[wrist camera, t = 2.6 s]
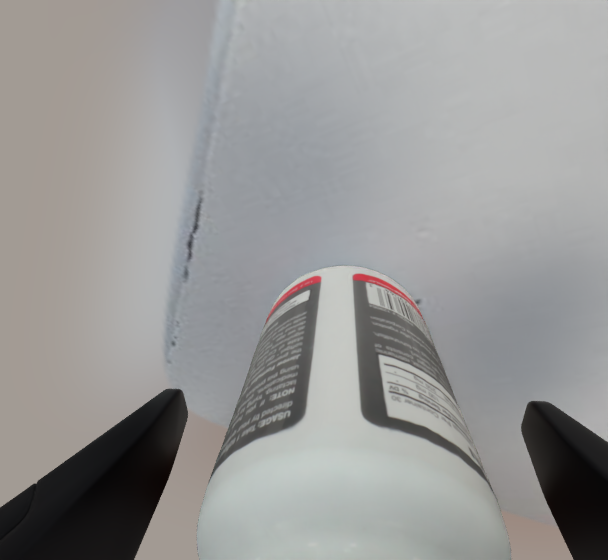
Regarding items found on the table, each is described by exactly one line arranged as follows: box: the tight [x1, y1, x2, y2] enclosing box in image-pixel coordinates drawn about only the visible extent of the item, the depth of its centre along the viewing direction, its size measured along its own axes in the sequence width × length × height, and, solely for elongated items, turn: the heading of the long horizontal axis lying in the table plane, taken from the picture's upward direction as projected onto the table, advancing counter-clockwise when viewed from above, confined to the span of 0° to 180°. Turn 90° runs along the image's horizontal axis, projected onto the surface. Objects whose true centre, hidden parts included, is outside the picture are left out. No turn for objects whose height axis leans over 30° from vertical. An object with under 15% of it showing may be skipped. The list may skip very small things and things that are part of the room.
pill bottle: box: [197, 265, 511, 560], centre depth 8 cm, size 5×5×10 cm
